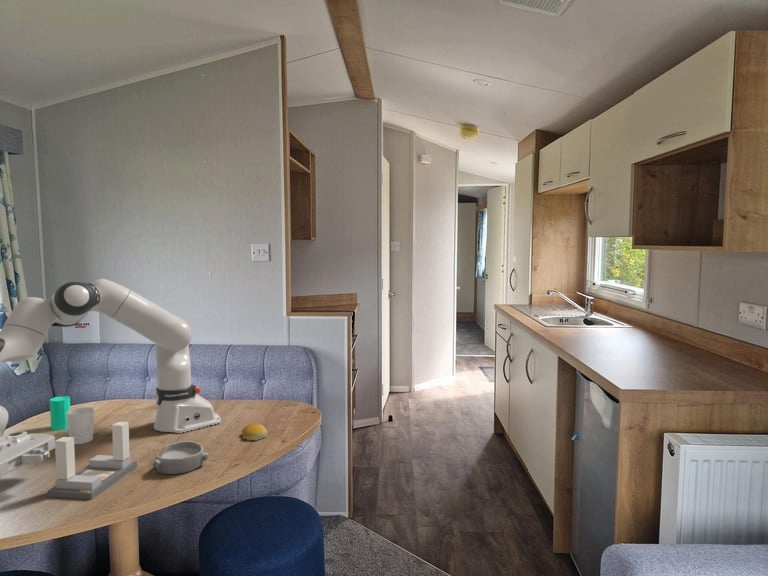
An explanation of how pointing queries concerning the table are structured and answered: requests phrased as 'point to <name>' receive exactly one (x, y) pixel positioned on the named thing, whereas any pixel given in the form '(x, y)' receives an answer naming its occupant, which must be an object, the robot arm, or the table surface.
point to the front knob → (65, 457)
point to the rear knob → (120, 440)
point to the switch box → (93, 478)
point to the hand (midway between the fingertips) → (45, 456)
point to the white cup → (80, 424)
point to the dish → (180, 457)
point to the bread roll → (254, 432)
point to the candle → (59, 412)
